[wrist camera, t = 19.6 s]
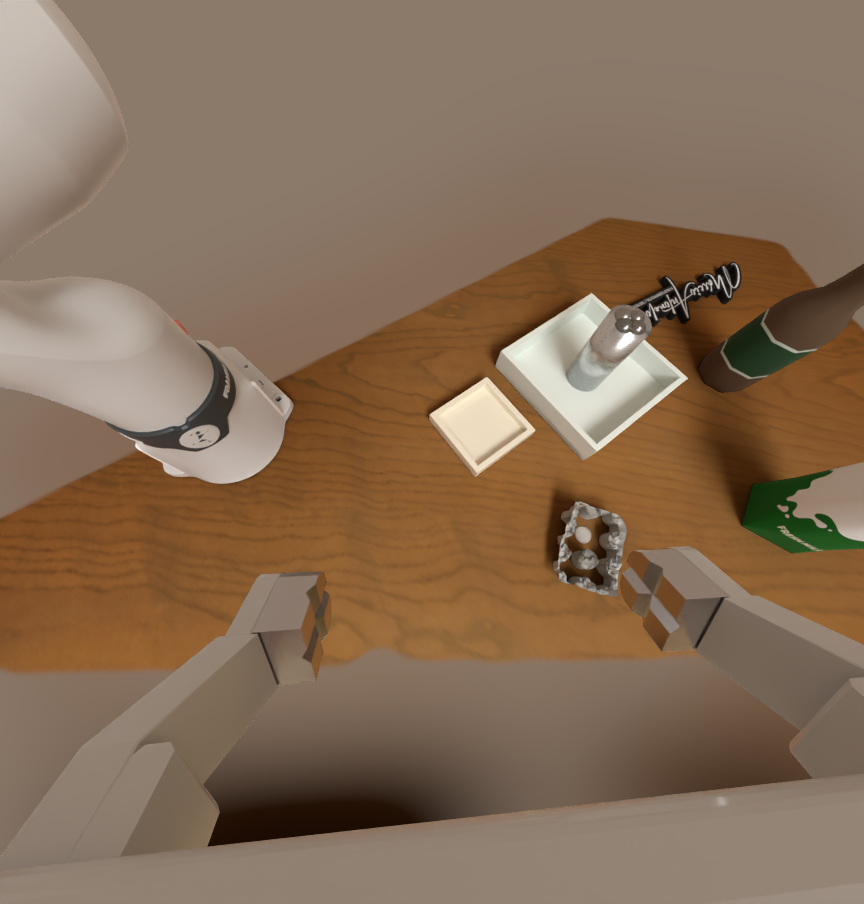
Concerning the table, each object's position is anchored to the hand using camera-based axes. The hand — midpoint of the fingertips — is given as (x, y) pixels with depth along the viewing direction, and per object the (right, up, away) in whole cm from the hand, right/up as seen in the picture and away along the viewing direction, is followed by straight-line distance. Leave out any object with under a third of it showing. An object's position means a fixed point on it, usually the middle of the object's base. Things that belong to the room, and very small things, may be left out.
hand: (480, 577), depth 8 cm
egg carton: (+19, -10, +34) cm, 40 cm away
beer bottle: (+47, +16, +44) cm, 66 cm away
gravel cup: (+23, +15, +42) cm, 50 cm away
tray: (+6, +7, +39) cm, 40 cm away
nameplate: (+45, +32, +50) cm, 75 cm away
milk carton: (+47, -6, +36) cm, 60 cm away
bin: (+23, +15, +43) cm, 51 cm away
